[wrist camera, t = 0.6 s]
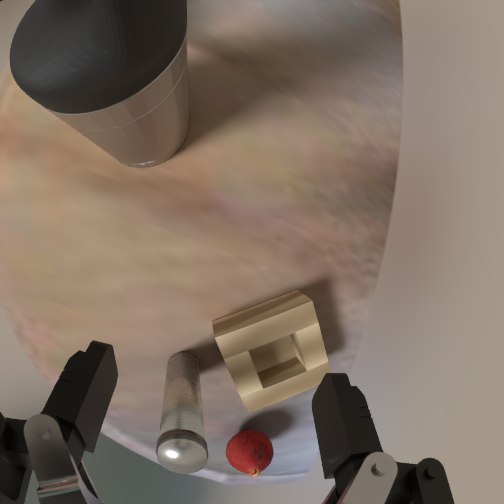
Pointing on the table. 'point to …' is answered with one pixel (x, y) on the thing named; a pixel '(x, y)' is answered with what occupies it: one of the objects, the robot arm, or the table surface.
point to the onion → (250, 452)
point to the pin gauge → (182, 417)
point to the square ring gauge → (273, 349)
